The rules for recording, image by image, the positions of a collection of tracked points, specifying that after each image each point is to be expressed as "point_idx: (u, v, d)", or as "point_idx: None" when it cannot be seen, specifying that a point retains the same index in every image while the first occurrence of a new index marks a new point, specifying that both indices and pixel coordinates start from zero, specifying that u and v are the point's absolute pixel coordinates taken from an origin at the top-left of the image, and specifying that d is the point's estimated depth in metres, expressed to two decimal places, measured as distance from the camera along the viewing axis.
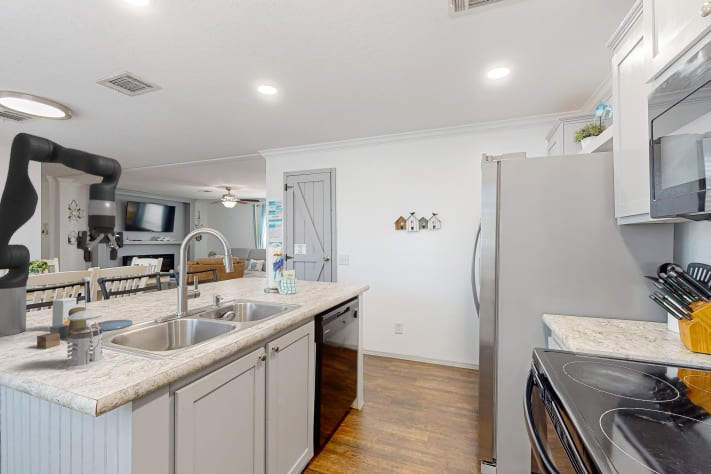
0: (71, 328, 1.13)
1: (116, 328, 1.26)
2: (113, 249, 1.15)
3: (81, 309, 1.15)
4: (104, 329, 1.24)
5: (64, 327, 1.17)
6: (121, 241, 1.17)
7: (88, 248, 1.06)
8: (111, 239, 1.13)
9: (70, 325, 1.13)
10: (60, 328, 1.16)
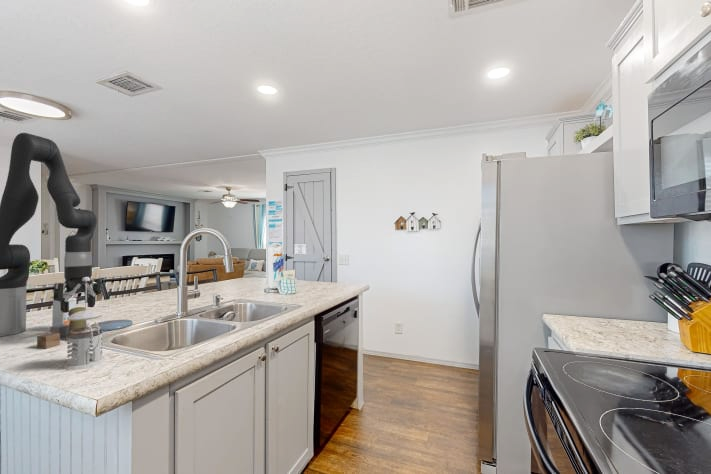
0: (71, 328, 1.13)
1: (116, 328, 1.26)
2: (90, 296, 1.19)
3: (81, 309, 1.15)
4: (104, 329, 1.24)
5: (64, 327, 1.17)
6: (98, 288, 1.21)
7: (65, 299, 1.10)
8: (88, 287, 1.17)
9: (70, 325, 1.13)
10: (60, 328, 1.16)
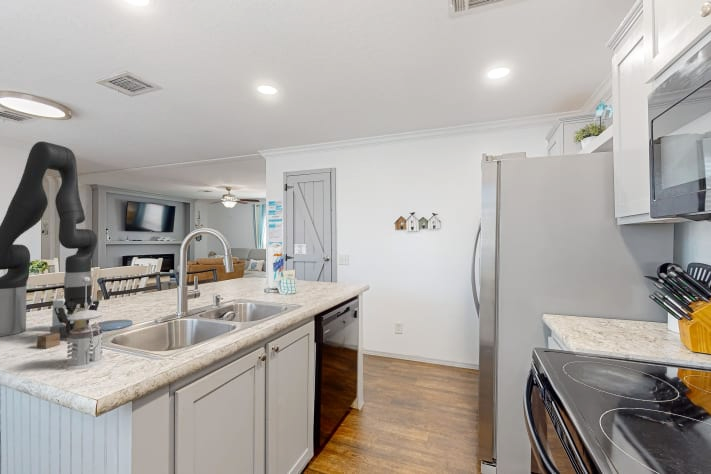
0: None
1: (116, 328, 1.26)
2: None
3: (81, 309, 1.15)
4: (104, 329, 1.24)
5: (64, 327, 1.17)
6: None
7: (70, 322, 1.12)
8: (86, 308, 1.17)
9: None
10: (60, 328, 1.16)
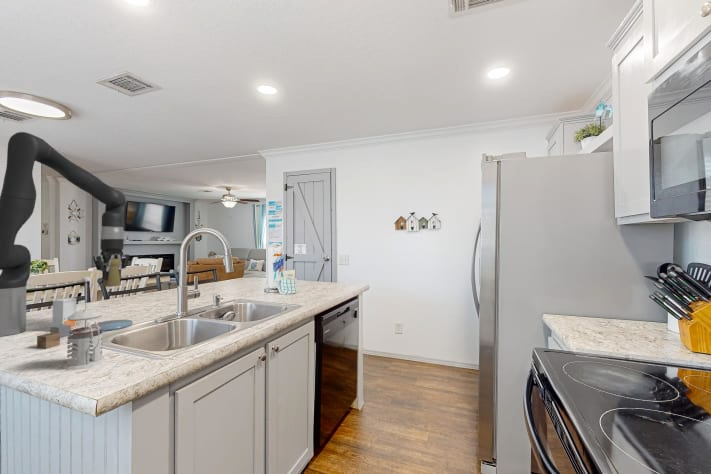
0: None
1: (116, 328, 1.26)
2: None
3: (115, 259, 1.30)
4: (104, 329, 1.24)
5: (64, 327, 1.17)
6: (125, 262, 1.35)
7: (106, 270, 1.28)
8: None
9: None
10: (60, 328, 1.16)
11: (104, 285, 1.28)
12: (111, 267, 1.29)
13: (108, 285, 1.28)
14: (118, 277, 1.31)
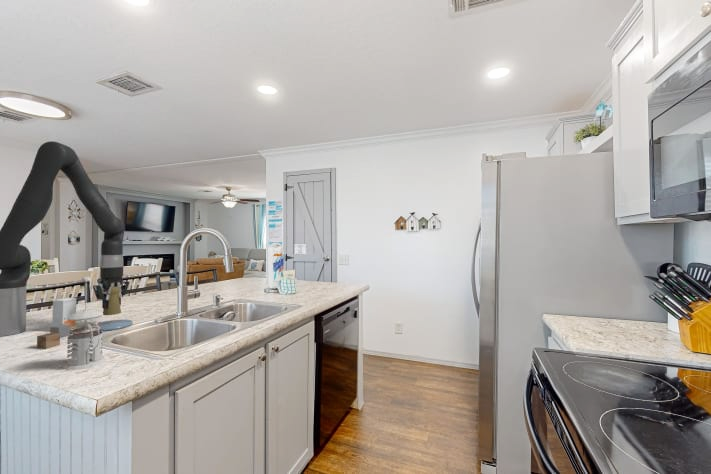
0: None
1: (116, 328, 1.26)
2: None
3: (115, 287, 1.30)
4: (104, 329, 1.24)
5: (64, 327, 1.17)
6: (125, 289, 1.35)
7: (106, 298, 1.27)
8: None
9: None
10: (60, 328, 1.16)
11: (104, 314, 1.28)
12: (111, 295, 1.29)
13: (108, 314, 1.28)
14: (118, 305, 1.31)
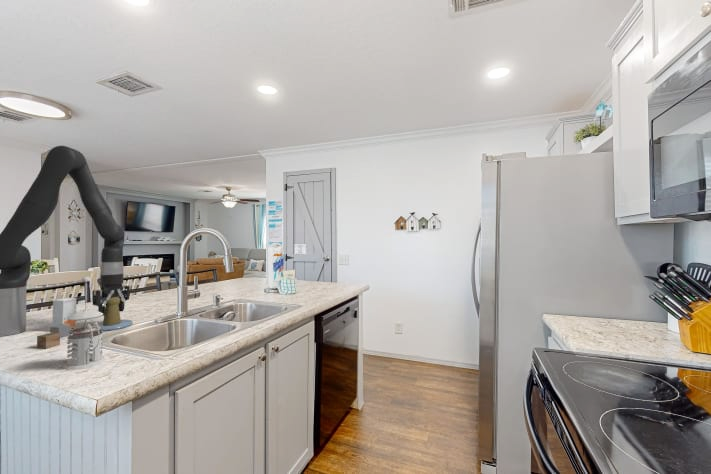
0: (107, 315, 1.29)
1: (116, 328, 1.26)
2: (120, 302, 1.34)
3: (115, 298, 1.30)
4: (104, 329, 1.24)
5: (64, 327, 1.17)
6: (127, 294, 1.36)
7: (102, 304, 1.26)
8: (119, 293, 1.32)
9: (106, 312, 1.29)
10: (60, 328, 1.16)
11: (104, 324, 1.28)
12: (111, 306, 1.29)
13: (108, 324, 1.28)
14: (118, 315, 1.31)
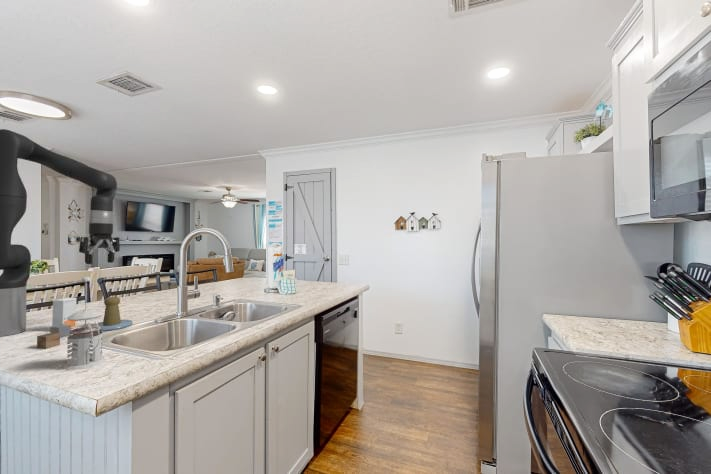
0: (107, 315, 1.29)
1: (116, 328, 1.26)
2: (110, 253, 1.31)
3: (115, 298, 1.30)
4: (104, 329, 1.24)
5: (64, 327, 1.17)
6: (117, 245, 1.33)
7: (89, 252, 1.22)
8: (109, 244, 1.29)
9: (106, 312, 1.29)
10: (60, 328, 1.16)
11: (104, 324, 1.28)
12: (111, 306, 1.29)
13: (108, 324, 1.28)
14: (118, 315, 1.31)
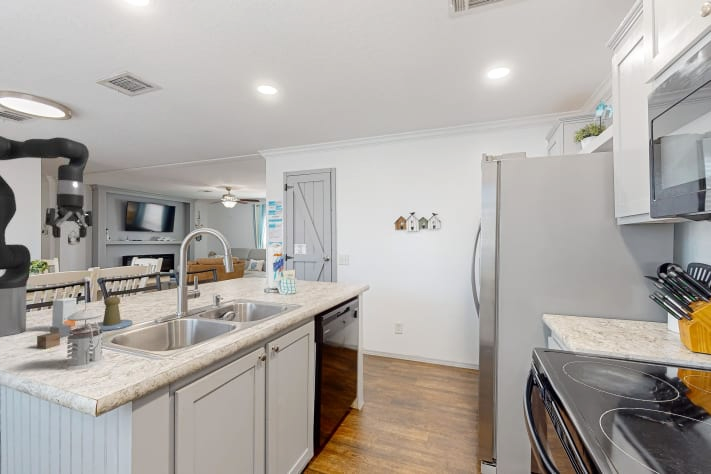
0: (107, 315, 1.29)
1: (116, 328, 1.26)
2: (82, 227, 1.23)
3: (115, 298, 1.30)
4: (104, 329, 1.24)
5: (64, 327, 1.17)
6: (90, 220, 1.25)
7: (56, 224, 1.14)
8: (79, 217, 1.21)
9: (106, 312, 1.29)
10: (60, 328, 1.16)
11: (104, 324, 1.28)
12: (111, 306, 1.29)
13: (108, 324, 1.28)
14: (118, 315, 1.31)
